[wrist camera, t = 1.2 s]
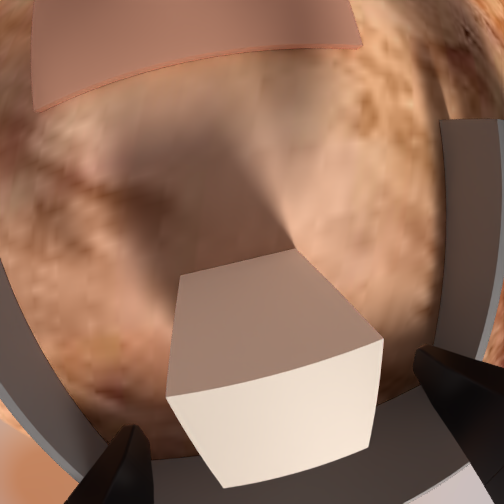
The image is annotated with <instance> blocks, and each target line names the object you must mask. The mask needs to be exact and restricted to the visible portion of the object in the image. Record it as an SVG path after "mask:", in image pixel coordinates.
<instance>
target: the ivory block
mask: <svg viewBox="0 0 504 504" xmlns="http://www.w3.org/2000/svg"><path fill="white" fill-rule="evenodd" d="M383 343H384V338H383V337H382V336H381V335H380V334H379V333H378V332H377V331H376V330H375V329H374V328H373V327H372V325H371V324H370V323H369V322H368V321H367V320H366V319H365V318H364V317H363V316H362V315H361V314H360V313H359V312H358V311H357V310H356V309H355V308H354V307H353V306H352V305H351V304H350V303H349V302H348V300H347V299H346V298H345V297H344V296H343V295H342V294H341V293H340V292H339V291H338V290H337V289H336V288H335V287H334V286H333V285H332V284H331V283H330V282H329V281H328V280H327V279H326V278H325V277H324V276H323V275H322V274H321V273H320V272H319V271H318V270H317V269H316V268H315V267H314V266H313V265H312V264H311V263H310V262H309V261H308V260H307V259H306V258H305V257H304V256H303V255H302V254H301V253H300V252H299V251H298V250H297V249H296V248H295V249H290V250H286V251H282V252H278V253H274V254H269V255H265V256H261V257H257V258H252V259H248V260H244V261H240V262H236V263H231V264H227V265H223V266H218V267H214V268H210V269H206V270H201V271H197V272H193V273H188V274H184V275H180V281H179V288H178V295H177V302H176V309H175V316H174V323H173V331H172V339H171V348H170V357H169V366H168V376H167V386H166V399H167V401H168V403H169V404H170V406H171V408H172V410H173V411H174V413H175V415H176V417H177V418H178V420H179V422H180V423H181V425H182V427H183V428H184V430H185V432H186V433H187V435H188V437H189V438H190V440H191V441H192V443H193V445H194V446H195V448H196V449H197V451H198V452H199V454H200V455H201V457H202V458H203V460H204V461H205V463H206V464H207V466H208V467H209V469H210V470H211V471H212V473H213V474H214V476H215V477H216V478H217V480H218V481H219V483H220V484H221V485H222V487H223V488H229V487H235V486H241V485H246V484H251V483H256V482H261V481H266V480H270V479H274V478H278V477H282V476H286V475H290V474H294V473H297V472H301V471H304V470H308V469H311V468H314V467H317V466H320V465H323V464H326V463H329V462H332V461H335V460H338V459H340V458H343V457H346V456H348V455H351V454H353V453H356V452H358V451H361V450H363V449H366V448H368V446H369V441H370V436H371V431H372V426H373V420H374V415H375V409H376V402H377V396H378V389H379V381H380V373H381V364H382V354H383Z"/></svg>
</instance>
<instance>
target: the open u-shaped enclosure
mask: <svg viewBox="0 0 504 504" xmlns="http://www.w3.org/2000/svg"><path fill="white" fill-rule="evenodd" d="M439 122H440V129H441V136H442V145H443V155H444V166H445V182H446V250H445V265H444V277H443V287H442V295H441V303H440V310H439V317H438V323H437V329H436V335H435V340H434V345H433V346H436V347H439V348H442V349H445V350H448V351H451V352H454V353H457V354H460V355H463V356H467V357H470V358H473V359H476V360H479V361H482V360H483V357H484V354H485V351H486V348H487V345H488V341H489V338H490V335H491V331H492V327H493V324H494V320H495V316H496V312H497V308H498V303H499V299H500V294H501V289H502V284H503V278H504V120H500V119H452V120H439ZM0 399H1V400H2V402H3V403H4V404H5V406H6V407H7V408H8V410H9V411H10V412H11V413H12V415H13V416H14V417H15V418H16V420H17V421H18V422H19V423H20V424H21V426H22V427H23V428H24V429H25V430H26V431H27V433H28V434H29V435H30V436H31V437H32V438H33V439H34V440H35V441H36V443H37V444H38V445H39V446H40V447H41V448H42V449H43V450H44V451H45V452H46V453H47V454H48V455H49V456H50V457H51V458H52V459H53V460H54V461H55V462H56V463H57V464H59V466H61V468H63V469H64V470H65V471H66V472H67V473H69V475H71V476H72V477H73V478H74V479H75V480H76V481H77V482H78V483H80V482H81V480H82V479H83V478H84V476H85V475H86V474H87V473H88V471H89V470H90V469H91V467H92V466H93V465H94V463H95V462H96V461H97V459H98V458H99V457H100V456H101V454H102V453H103V452H104V450H105V449H106V448H107V446H108V444H107V443H106V442H105V441H104V440H103V438H102V437H101V436H100V435H99V434H98V432H97V431H96V430H95V429H94V427H93V426H92V425H91V424H90V422H89V421H88V420H87V419H86V417H85V416H84V415H83V413H82V412H81V411H80V409H79V408H78V407H77V405H76V404H75V402H74V401H73V400H72V398H71V397H70V395H69V394H68V392H67V391H66V389H65V388H64V387H63V385H62V383H61V382H60V380H59V379H58V377H57V376H56V374H55V373H54V371H53V369H52V368H51V366H50V364H49V363H48V361H47V359H46V358H45V356H44V354H43V352H42V351H41V349H40V347H39V345H38V343H37V342H36V340H35V338H34V336H33V334H32V332H31V330H30V328H29V326H28V324H27V322H26V320H25V318H24V316H23V314H22V312H21V310H20V307H19V305H18V303H17V301H16V298H15V296H14V294H13V291H12V289H11V286H10V284H9V281H8V279H7V276H6V274H5V271H4V268H3V265H2V263H1V260H0ZM151 464H152V472H153V481H154V504H408V503H410V502H412V501H414V500H416V499H417V498H419V497H421V496H422V495H424V494H426V493H428V492H429V491H431V490H433V489H434V488H436V487H438V486H439V485H441V484H442V483H444V482H445V481H447V480H448V479H450V478H451V477H453V476H454V475H456V474H457V473H458V472H460V471H461V470H463V469H464V468H465V467H467V466H468V465H469V464H470V462H469V460H468V459H467V457H466V456H465V454H464V453H463V451H462V449H461V448H460V446H459V445H458V443H457V442H456V440H455V439H454V437H453V436H452V434H451V433H450V431H449V430H448V428H447V427H446V425H445V424H444V422H443V421H442V419H441V418H440V416H439V415H438V413H437V412H436V410H435V409H434V407H433V406H432V404H431V403H430V401H429V399H428V397H427V395H426V393H425V391H424V390H423V388H422V386H421V385H420V386H418V387H416V388H414V389H412V390H410V391H408V392H406V393H404V394H402V395H400V396H398V397H396V398H393V399H391V400H389V401H387V402H385V403H382V404H380V405H378V406H376V409H375V415H374V420H373V426H372V431H371V436H370V441H369V446H368V448H366V449H363V450H361V451H358V452H356V453H353V454H351V455H348V456H346V457H343V458H340V459H338V460H335V461H332V462H329V463H326V464H323V465H320V466H317V467H314V468H311V469H308V470H304V471H301V472H297V473H294V474H290V475H286V476H282V477H278V478H274V479H270V480H266V481H261V482H256V483H251V484H246V485H241V486H235V487H229V488H223V487H222V485H221V484H220V483H219V481H218V480H217V478H216V477H215V476H214V474H213V473H212V471H211V470H210V469H209V467H208V466H207V464H206V463H205V461H204V460H203V458H202V457H201V456H193V457H184V458H175V459H163V460H151Z"/></svg>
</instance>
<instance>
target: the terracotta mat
mask: <svg viewBox="0 0 504 504" xmlns="http://www.w3.org/2000/svg"><path fill="white" fill-rule="evenodd" d="M362 46H363V44H362V40H361V37H360V33H359V30H358V27H357V23H356V20H355V17H354V14H353V11H352V8H351V5H350V2H349V0H34V7H33V17H32V32H31V83H32V99H33V110H34V112H39V113H41V112H43V111H45V110H47V109H49V108H51V107H53V106H55V105H58V104H60V103H62V102H64V101H66V100H69V99H71V98H73V97H76V96H78V95H81V94H83V93H86V92H88V91H91V90H93V89H96V88H99V87H101V86H104V85H107V84H110V83H113V82H116V81H119V80H122V79H125V78H128V77H131V76H134V75H138V74H141V73H144V72H148V71H152V70H155V69H159V68H163V67H167V66H171V65H176V64H180V63H185V62H189V61H194V60H199V59H205V58H210V57H216V56H223V55H229V54H237V53H245V52H254V51H264V50H277V49H298V48H339V49H358V48H360V47H362Z"/></svg>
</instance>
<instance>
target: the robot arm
mask: <svg viewBox="0 0 504 504" xmlns="http://www.w3.org/2000/svg"><path fill="white" fill-rule="evenodd" d="M413 371H414V373H415V375H416V377H417V379H418V380H419V382H420V384H421V386H422V388H423V390H424V391H425V393H426V395H427V397H428V399H429V401H430V403H431V404H432V406H433V407H434V409H435V410H436V412H437V413H438V415H439V416H440V418H441V419H442V421H443V422H444V424H445V425H446V427H447V428H448V430H449V431H450V433H451V434H452V436H453V437H454V439H455V440H456V442H457V443H458V445H459V446H460V448H461V449H462V451H463V453H464V454H465V456H466V457H467V459H468V460H469V462H470V464H471V465H472V467H473V468H474V470H475V472H476V473H477V475H478V476H479V478H480V480H481V481H482V483H483V485H484V487H485V488H486V490H487V492H488V494H489V495H490V497H491V499H492V500H493V502H494V504H504V368H502V367H499V366H495V365H492V364H489V363H486V362H482V361H479V360H476V359H473V358H470V357H467V356H463V355H460V354H457V353H454V352H451V351H448V350H445V349H442V348H439V347H436V346H433V345H430V344H425V345H423V346H421V347H418V348H417V349H416V352H415V357H414V363H413ZM64 504H154V481H153V472H152V464H151V454H150V444H149V440H148V438H147V437H146V436H145V434H144V433H143V432H142V430H141V429H140V427H139V426H138V425H136V424H127V425H124V426H123V427H122V428H121V429H120V431H119V432H118V433H117V435H116V436H115V437H114V439H113V440H112V441H111V442H110V444H109V445H108V446H107V448H106V449H105V450H104V452H103V453H102V454H101V456H100V457H99V458H98V459H97V461H96V462H95V463H94V465H93V466H92V467H91V469H90V470H89V471H88V473H87V474H86V475H85V476H84V478H83V479H82V480H81V482H80V483H79V484H78V486H77V487H76V488H75V489H74V491H73V492H72V493H71V495H70V496H69V497H68V500H66V501H65V502H64Z"/></svg>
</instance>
